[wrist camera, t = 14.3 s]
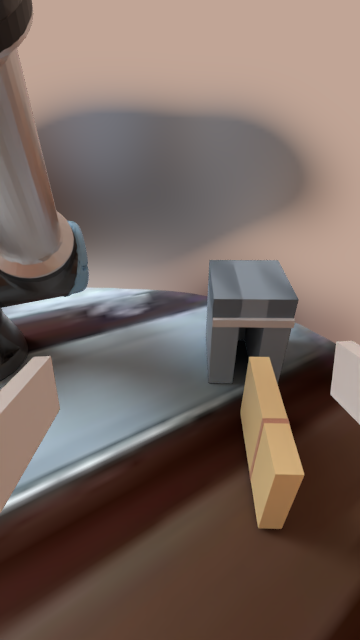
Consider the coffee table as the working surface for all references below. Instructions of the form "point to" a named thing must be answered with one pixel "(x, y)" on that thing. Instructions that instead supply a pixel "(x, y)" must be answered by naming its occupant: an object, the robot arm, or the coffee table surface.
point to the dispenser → (247, 314)
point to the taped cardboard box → (269, 446)
